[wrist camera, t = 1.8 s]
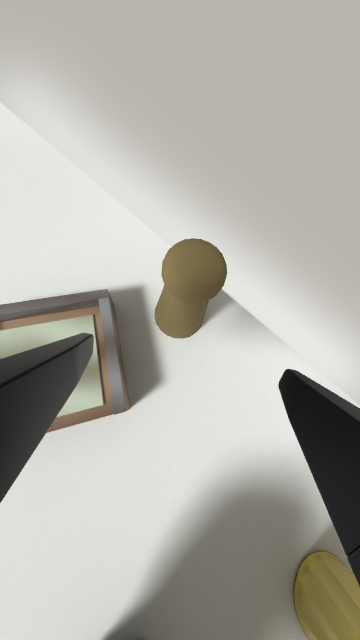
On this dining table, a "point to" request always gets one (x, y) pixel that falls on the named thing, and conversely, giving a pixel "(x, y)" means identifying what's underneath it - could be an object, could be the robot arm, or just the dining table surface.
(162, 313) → the olive domed stopper
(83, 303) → the wooden tray
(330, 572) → the vase
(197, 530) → the dining table surface
